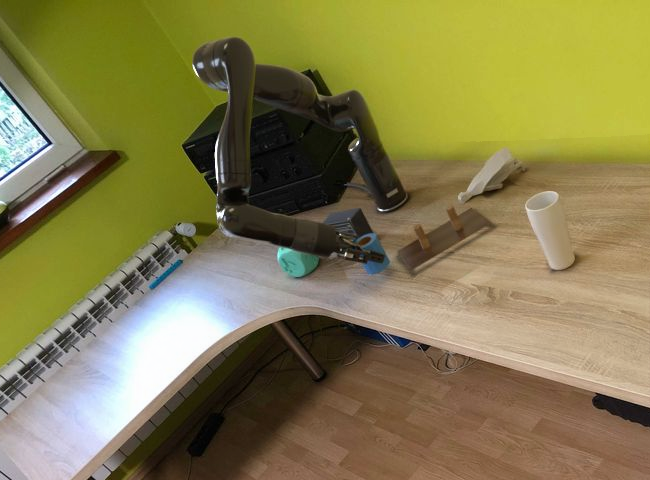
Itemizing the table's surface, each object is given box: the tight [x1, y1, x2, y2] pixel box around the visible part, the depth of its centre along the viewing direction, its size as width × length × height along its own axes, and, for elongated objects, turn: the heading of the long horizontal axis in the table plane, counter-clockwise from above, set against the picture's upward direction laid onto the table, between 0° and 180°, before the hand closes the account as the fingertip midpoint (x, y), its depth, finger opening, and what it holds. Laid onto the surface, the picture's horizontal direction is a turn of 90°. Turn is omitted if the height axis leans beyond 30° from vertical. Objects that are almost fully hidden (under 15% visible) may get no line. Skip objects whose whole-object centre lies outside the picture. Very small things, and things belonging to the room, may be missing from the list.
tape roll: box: [354, 233, 391, 276], centre depth 150 cm, size 6×6×8 cm
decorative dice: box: [276, 247, 320, 278], centre depth 174 cm, size 8×8×8 cm
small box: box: [321, 207, 375, 258], centre depth 169 cm, size 11×6×10 cm, turn 65°
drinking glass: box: [524, 190, 576, 271], centre depth 126 cm, size 7×7×15 cm
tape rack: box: [396, 204, 492, 271], centre depth 154 cm, size 12×22×8 cm, turn 111°
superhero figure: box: [457, 147, 526, 204], centre depth 164 cm, size 10×9×20 cm
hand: (379, 253), depth 151 cm, fingers closed on tape roll, 6 cm apart
